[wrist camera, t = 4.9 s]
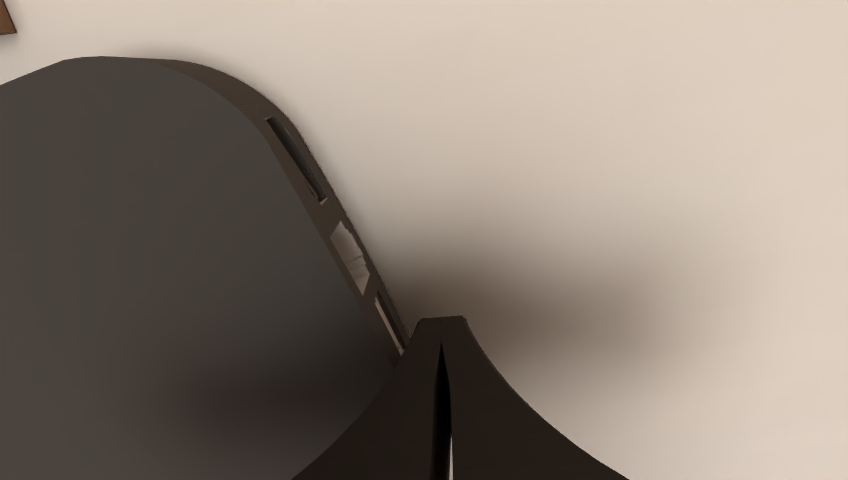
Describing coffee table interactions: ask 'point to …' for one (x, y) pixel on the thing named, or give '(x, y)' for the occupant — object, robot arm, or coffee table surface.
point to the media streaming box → (174, 281)
